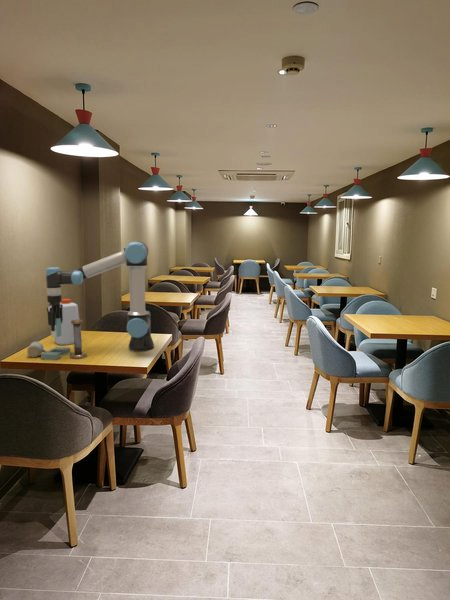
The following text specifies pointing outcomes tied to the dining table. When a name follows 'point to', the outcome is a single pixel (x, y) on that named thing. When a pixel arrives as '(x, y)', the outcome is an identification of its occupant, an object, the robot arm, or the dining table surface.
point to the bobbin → (77, 340)
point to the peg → (58, 327)
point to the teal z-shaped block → (55, 353)
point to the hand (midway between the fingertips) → (56, 335)
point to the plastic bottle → (67, 322)
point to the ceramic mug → (35, 349)
